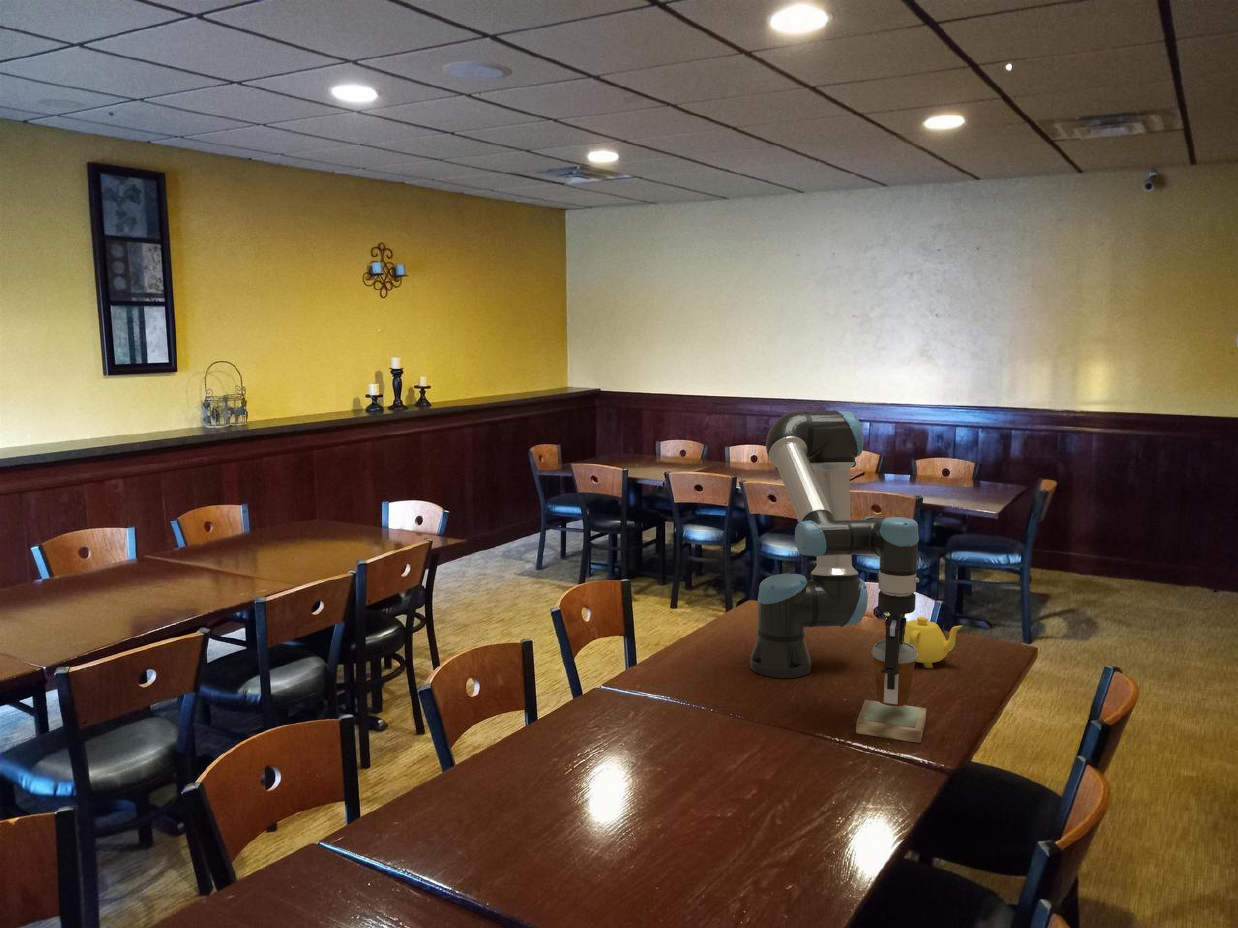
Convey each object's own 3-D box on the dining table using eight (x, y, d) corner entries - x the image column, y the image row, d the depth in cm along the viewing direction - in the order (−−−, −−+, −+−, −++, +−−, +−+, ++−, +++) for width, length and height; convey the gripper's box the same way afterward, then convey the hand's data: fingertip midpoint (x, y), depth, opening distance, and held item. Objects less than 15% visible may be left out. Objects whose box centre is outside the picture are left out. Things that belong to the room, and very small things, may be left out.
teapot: (871, 662, 239) (873, 619, 238) (890, 647, 252) (891, 605, 250) (951, 678, 228) (954, 633, 227) (967, 661, 241) (969, 618, 239)
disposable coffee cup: (918, 711, 194) (920, 655, 192) (870, 707, 196) (872, 652, 194) (913, 694, 203) (915, 641, 202) (868, 691, 205) (870, 638, 204)
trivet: (856, 732, 197) (856, 720, 197) (864, 710, 209) (865, 698, 208) (920, 742, 192) (921, 729, 192) (925, 719, 204) (926, 707, 204)
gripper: (910, 606, 185) (906, 716, 188) (920, 581, 205) (915, 681, 208) (872, 602, 188) (868, 710, 191) (884, 578, 208) (881, 676, 210)
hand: (892, 695), depth 199 cm, fingers closed on disposable coffee cup, 8 cm apart
